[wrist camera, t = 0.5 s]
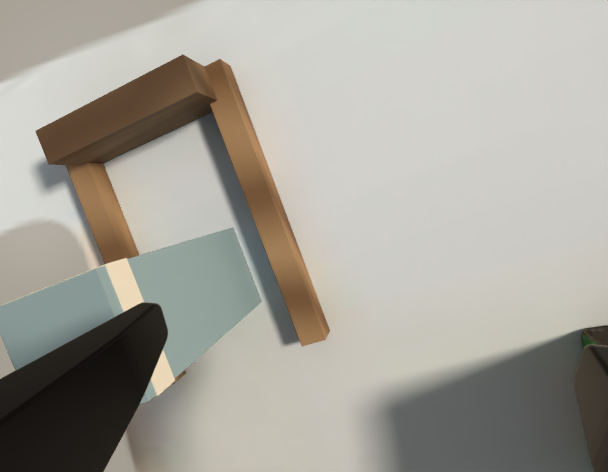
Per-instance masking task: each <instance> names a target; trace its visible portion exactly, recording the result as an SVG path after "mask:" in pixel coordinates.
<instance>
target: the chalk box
mask: <svg viewBox="0 0 608 472" xmlns="http://www.w3.org/2000/svg"><path fill="white" fill-rule="evenodd" d="M582 342H583V349H584V348H585V347H586V346H587V345H589V344H593V345H604V346H608V326H603V327H595V328H588V329H584V331H583V335H582Z"/></svg>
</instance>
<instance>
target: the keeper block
mask: <svg viewBox="0 0 608 472" xmlns="http://www.w3.org/2000/svg"><path fill="white" fill-rule="evenodd" d="M142 302H148V303H157V304H159V305H160V306H161V308H162V311H163V315H164V318H165V321H166V325H167V328H168V337H167V341H166V343H165V346H164V348H163V351H162V353H161V356H160V358H159V360H158V363H157V365H156V368H155V370H154V373H153V375H152V377H151V380H150V382H149V385H148V387H147V389H146V392H145V394H144V396H143V398H142V400H141V402H140V404H142V403H146V402H149V401H150V400H151V399H152V398H153V397H155V396H158V395H159V394H161V393H162V392H163V391H164V390H165V389H166V388H167V387H168V386H170V385H171V384H172V383H173V382H174V381H175V378H176V377H177V376H178V375H179V374H181V373H182V372H183V371H184V370H185V369H186V368H187V367H188V366H190V365H191V364H192V363H193V362H194V361H195V360H196V359H197V358H199V357H200V356H201V355H202V354H203V353H204V352H205V351H207V350H208V349H209V348H210V347H211V346H212V345H213V344H214V343H216V342H217V341H218V340H219V339H220V338H221V337H222V336H224V335H225V334H226V333H227V332H228V331H229V330H230V329H231V328H233V327H234V326H235V325H236V324H237V323H238V322H239V321H240V320H242V319H243V318H244V317H245V316H246V315H247V314H248V313H250V312H251V311H252V310H253V309H254V308H255V307H256V306H257V305H259V304H260V303H261V302H262V301H261V298H260V296H259V293H258V290H257V288H256V285H255V283H254V280H253V277H252V275H251V272H250V269H249V267H248V264H247V262H246V259H245V256H244V254H243V251H242V249H241V246H240V243H239V241H238V238H237V235H236V233H235V230H234V228H230V229H226V230H223V231H220V232H216V233H213V234H210V235H206V236H203V237H200V238H196V239H193V240H189V241H186V242H183V243H179V244H176V245H173V246H169V247H166V248H163V249H159V250H156V251H153V252H149V253H146V254H143V255H139V256H136V257H133V258H129V259H127V258H124V259H121V260H117V261H114V262H111V263H107V264H104V265H102V266H99V267H97V268H94V269H92V270H89V271H86V272H84V273H81V274H79V275H76V276H74V277H71V278H69V279H66V280H63V281H61V282H59V283H56V284H53V285H51V286H48V287H46V288H43V289H41V290H38V291H35V292H33V293H30V294H28V295H26V296H23V297H20V298H18V299H15V300H13V301H10V302H8V303H5V304H2V305H1V306H0V335H1V337H2V339H3V342H4V344H5V346H6V349H7V351H8V354H9V356H10V359H11V361H12V363H13V366H14V368H15V371H16V370H18V369H20V368H21V367H23V366H25V365H27V364H29V363H31V362H32V361H34V360H36V359H38V358H40V357H42V356H44V355H45V354H47V353H49V352H51V351H53V350H55V349H56V348H58V347H60V346H62V345H64V344H66V343H68V342H69V341H71V340H73V339H75V338H77V337H79V336H80V335H82V334H84V333H86V332H88V331H90V330H92V329H93V328H95V327H97V326H99V325H101V324H103V323H104V322H106V321H108V320H110V319H112V318H114V317H116V316H117V315H119V314H121V313H123V312H125V311H127V310H128V309H130V308H132V307H134V306H136V305H138V304H140V303H142Z"/></svg>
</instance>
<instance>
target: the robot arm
mask: <svg viewBox="0 0 608 472" xmlns="http://www.w3.org/2000/svg"><path fill="white" fill-rule="evenodd" d="M167 337H168V328H167V325H166V321H165V318H164V315H163V311H162V308H161V306H160V305H159V304H157V303H148V302H142V303H140V304H138V305H136V306H134V307H132V308H130V309H128V310H127V311H125V312H123V313H121V314H119V315H117V316H116V317H114V318H112V319H110V320H108V321H106V322H104V323H103V324H101V325H99V326H97V327H95V328H93V329H92V330H90V331H88V332H86V333H84V334H82V335H80V336H79V337H77V338H75V339H73V340H71V341H69V342H68V343H66V344H64V345H62V346H60V347H58V348H56V349H55V350H53V351H51V352H49V353H47V354H45V355H44V356H42V357H40V358H38V359H36V360H34V361H32V362H31V363H29V364H27V365H25V366H23V367H21V368H20V369H18V370H16V371H14V372H12V373H10V374H9V375H7V376H5V377H3V378H2V379H0V472H103V471H104V469H105V468H106V466H107V464H108V462H109V460H110V458H111V456H112V455H113V453H114V451H115V449H116V447H117V445H118V443H119V442H120V440H121V438H122V436H123V434H124V432H125V430H126V429H127V427H128V425H129V423H130V421H131V419H132V417H133V415H134V414H135V412H136V410H137V408H138V406H139V404H140V402H141V400H142V398H143V396H144V394H145V392H146V389H147V387H148V385H149V382H150V380H151V377H152V375H153V373H154V370H155V368H156V365H157V363H158V360H159V358H160V356H161V353H162V351H163V348H164V346H165V343H166V341H167ZM574 385H575V390H576V395H577V400H578V404H579V409H580V413H581V418H582V423H583V427H584V432H585V436H586V441H587V446H588V450H589V454H590V458H591V463H592V466H593V469H594V472H608V346H604V345H593V344H589V345H587V346H586V347H585V348H584V350H583V352H582V355H581V358H580V361H579V364H578V366H577V369H576V372H575V376H574Z"/></svg>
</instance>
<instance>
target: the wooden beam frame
mask: <svg viewBox="0 0 608 472" xmlns="http://www.w3.org/2000/svg"><path fill="white" fill-rule="evenodd" d="M211 112H213V113H214V116H215V119H216V121H217V124H218V127H219V129H220V132H221V134H222V137H223V140H224V142H225V145H226V148H227V150H228V153H229V156H230V158H231V161H232V163H233V166H234V169H235V171H236V174H237V177H238V179H239V182H240V184H241V187H242V190H243V192H244V195H245V198H246V200H247V203H248V206H249V208H250V211H251V213H252V216H253V219H254V221H255V224H256V227H257V229H258V232H259V235H260V237H261V240H262V242H263V245H264V248H265V250H266V253H267V256H268V258H269V261H270V263H271V266H272V269H273V271H274V274H275V277H276V279H277V282H278V285H279V287H280V290H281V292H282V295H283V298H284V300H285V303H286V306H287V308H288V311H289V313H290V316H291V319H292V321H293V324H294V327H295V329H296V332H297V335H298V337H299V340H300V342H301V345H302V346H305V345H308V344H312V343H315V342H319V341H322V340H326V338H327V335H328V333H329V331H330V330H329V327H328V325H327V322H326V319H325V317H324V314H323V311H322V309H321V306H320V303H319V301H318V298H317V295H316V293H315V290H314V287H313V285H312V282H311V279H310V277H309V274H308V271H307V269H306V266H305V263H304V261H303V258H302V255H301V253H300V250H299V247H298V245H297V242H296V239H295V237H294V234H293V231H292V229H291V226H290V223H289V221H288V218H287V215H286V213H285V210H284V207H283V205H282V202H281V199H280V197H279V194H278V191H277V189H276V186H275V183H274V181H273V178H272V175H271V173H270V170H269V168H268V165H267V162H266V160H265V157H264V154H263V152H262V149H261V146H260V144H259V141H258V138H257V136H256V133H255V130H254V128H253V125H252V122H251V120H250V117H249V114H248V112H247V109H246V106H245V104H244V101H243V98H242V96H241V93H240V90H239V88H238V85H237V82H236V80H235V77H234V74H233V72H232V69H231V66H230V65H228V64H227V63H225V62H224V61H222V60H221V59H219V60H217V61H215V62H213V63H211V64H209V65H207V66H205V67H204V66H202V65H201V64H199V63H197V62H195V61H193V60H192V59H190V58H188V57H186V56H184V55H181V56H179V57H177V58H175V59H173V60H172V61H170V62H168V63H166V64H164V65H162V66H160V67H158V68H156V69H154V70H152V71H150V72H148V73H146V74H145V75H143V76H141V77H139V78H137V79H135V80H133V81H131V82H129V83H127V84H125V85H123V86H121V87H119V88H118V89H116V90H114V91H112V92H110V93H108V94H106V95H104V96H102V97H100V98H98V99H96V100H94V101H92V102H91V103H89V104H87V105H85V106H83V107H81V108H79V109H77V110H75V111H73V112H71V113H69V114H67V115H65V116H64V117H62V118H60V119H58V120H56V121H54V122H52V123H50V124H48V125H46V126H44V127H42V128H40V129H38V130H37V131H36V134H37V136H38V139H39V141H40V144H41V146H42V149H43V151H44V154H45V156H46V159H47V161H48V164H56V165H66V167H67V170H68V172H69V175H70V177H71V180H72V182H73V185H74V187H75V190H76V192H77V195H78V197H79V200H80V202H81V205H82V207H83V210H84V212H85V215H86V217H87V220H88V222H89V225H90V227H91V230H92V232H93V235H94V237H95V240H96V242H97V245H98V247H99V250H100V252H101V255H102V257H103V260H104V262H105V264H107V263H111V262H114V261H117V260H121V259H124V258H127V259H129V258H133V257H136V256H139V253H138V251H137V248H136V246H135V243H134V241H133V238H132V236H131V233H130V231H129V228H128V225H127V223H126V220H125V218H124V215H123V213H122V210H121V208H120V205H119V203H118V200H117V198H116V195H115V193H114V190H113V187H112V185H111V182H110V180H109V177H108V175H107V172H106V170H105V167H104V165H103V163H104V162H106V161H108V160H111V159H113V158H115V157H117V156H119V155H121V154H123V153H126V152H128V151H130V150H132V149H134V148H136V147H138V146H140V145H143V144H145V143H147V142H149V141H151V140H153V139H155V138H158V137H160V136H162V135H164V134H166V133H168V132H170V131H173V130H175V129H177V128H179V127H181V126H183V125H185V124H187V123H190V122H192V121H194V120H196V119H198V118H200V117H202V116H205V115H207V114H209V113H211ZM185 373H186V372H185V370H184V371H183V372H182V373H181V374H179V375H178V376H177V377H176V378H175V381H174V382H173V383H175V382H176V381H177V380H179V379H180V378H181V377H182V376H183V375H184V374H185ZM173 383H172V384H173Z"/></svg>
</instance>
